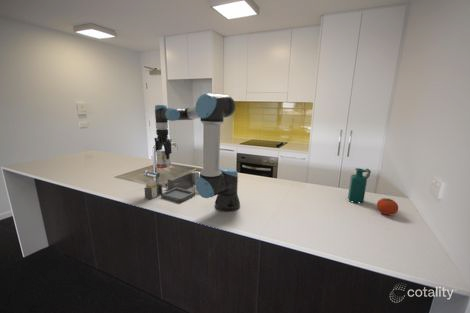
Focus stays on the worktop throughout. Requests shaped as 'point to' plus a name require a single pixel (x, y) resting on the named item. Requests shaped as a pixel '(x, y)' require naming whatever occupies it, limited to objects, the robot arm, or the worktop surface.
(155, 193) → the clip holder
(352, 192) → the green bottle
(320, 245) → the worktop surface
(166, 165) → the ink box
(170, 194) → the tray
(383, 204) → the tomato
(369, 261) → the worktop surface
